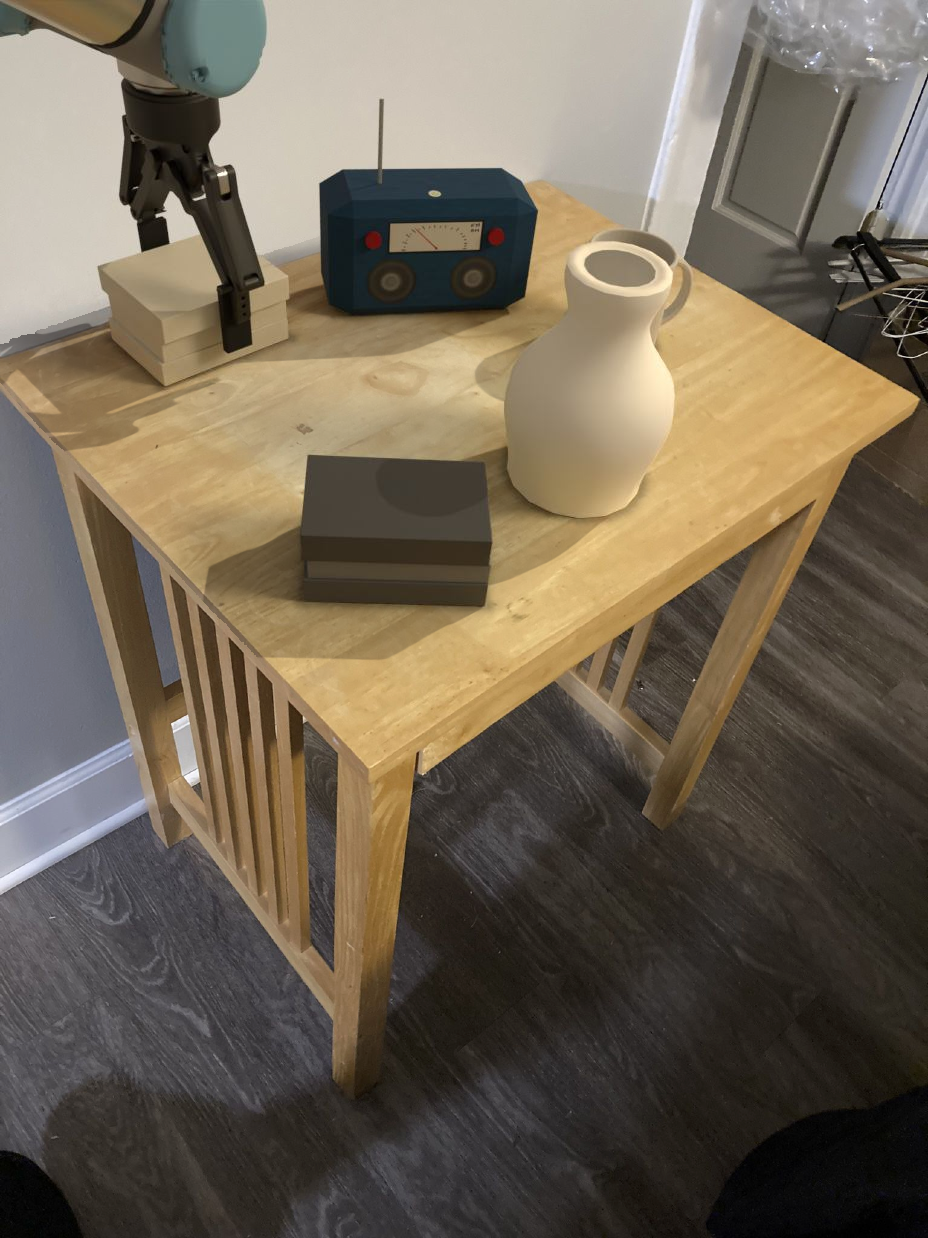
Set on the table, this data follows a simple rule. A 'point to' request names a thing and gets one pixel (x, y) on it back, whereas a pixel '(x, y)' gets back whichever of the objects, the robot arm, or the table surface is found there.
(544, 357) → the vase
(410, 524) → the dark brown box
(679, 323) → the table surface
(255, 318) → the beige rectangular block
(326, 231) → the radio
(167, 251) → the beige flat block
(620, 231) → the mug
